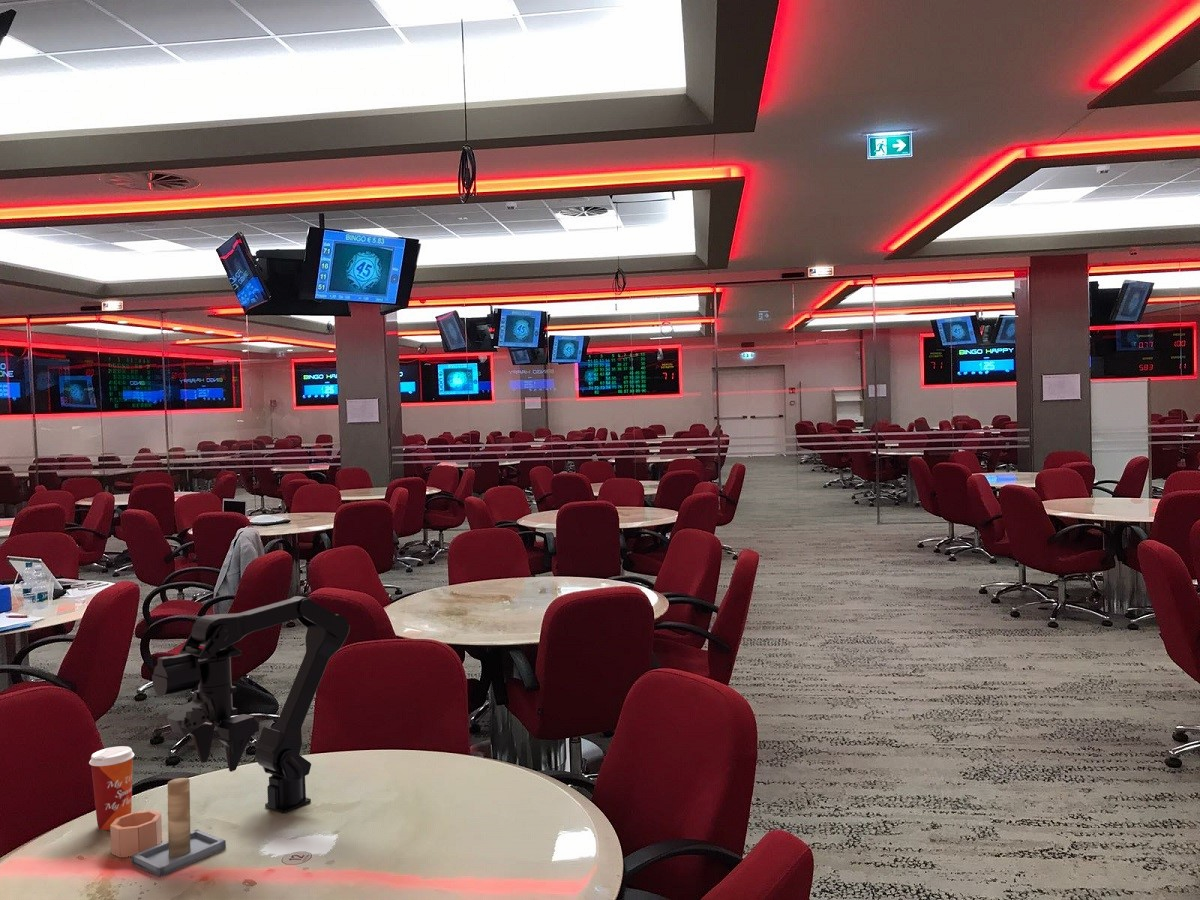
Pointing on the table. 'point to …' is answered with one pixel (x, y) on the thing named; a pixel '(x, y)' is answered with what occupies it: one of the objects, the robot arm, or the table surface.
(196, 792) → the table surface
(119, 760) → the paper cup
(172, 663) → the robot arm
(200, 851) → the slate tray
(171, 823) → the oak peg
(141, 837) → the pot
